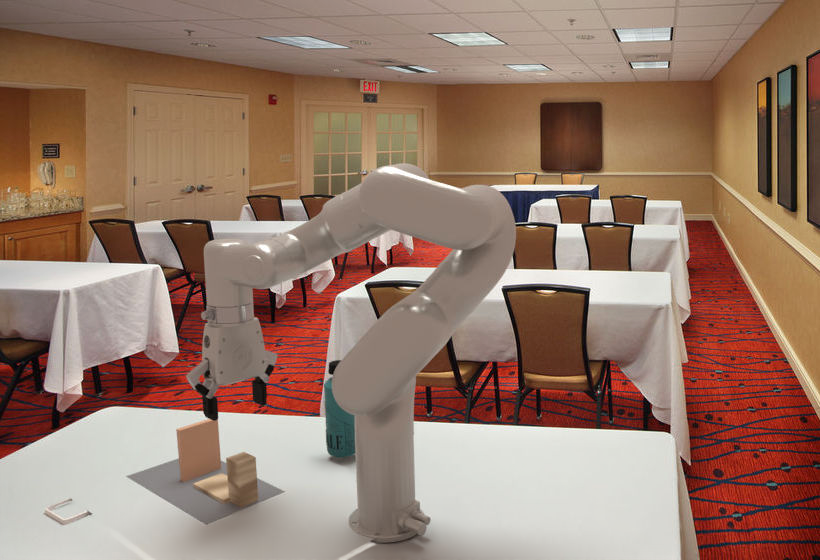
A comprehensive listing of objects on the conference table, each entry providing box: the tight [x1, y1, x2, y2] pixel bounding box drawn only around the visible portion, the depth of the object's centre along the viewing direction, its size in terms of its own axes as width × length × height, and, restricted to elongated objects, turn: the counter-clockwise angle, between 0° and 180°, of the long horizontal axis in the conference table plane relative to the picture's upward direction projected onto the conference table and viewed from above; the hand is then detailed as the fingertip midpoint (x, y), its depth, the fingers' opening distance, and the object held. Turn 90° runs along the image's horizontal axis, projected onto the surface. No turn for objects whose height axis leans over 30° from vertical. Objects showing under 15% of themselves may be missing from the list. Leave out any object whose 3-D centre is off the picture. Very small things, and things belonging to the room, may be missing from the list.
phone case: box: [44, 498, 93, 525], centre depth 141 cm, size 7×1×15 cm
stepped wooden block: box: [193, 451, 258, 507], centre depth 141 cm, size 13×6×8 cm, turn 46°
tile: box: [175, 418, 222, 482], centre depth 148 cm, size 1×8×10 cm, turn 136°
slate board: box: [126, 457, 286, 525], centre depth 145 cm, size 28×16×1 cm, turn 46°
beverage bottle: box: [323, 359, 356, 458], centre depth 156 cm, size 6×7×20 cm
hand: (236, 410), depth 135 cm, fingers open, 9 cm apart
